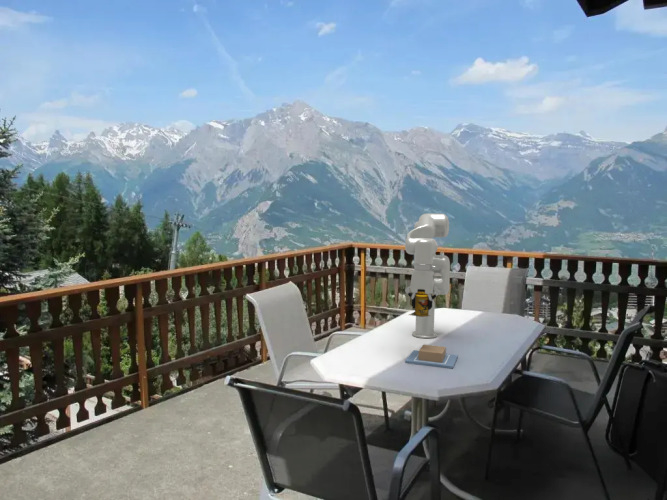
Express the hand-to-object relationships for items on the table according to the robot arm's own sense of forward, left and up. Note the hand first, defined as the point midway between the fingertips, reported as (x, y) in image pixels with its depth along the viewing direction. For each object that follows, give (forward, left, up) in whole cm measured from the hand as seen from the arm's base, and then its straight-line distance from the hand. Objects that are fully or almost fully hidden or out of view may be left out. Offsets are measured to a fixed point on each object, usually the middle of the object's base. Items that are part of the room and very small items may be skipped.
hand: (421, 308), depth 222 cm
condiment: (0, -1, -3) cm, 4 cm away
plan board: (+1, +5, -22) cm, 23 cm away
